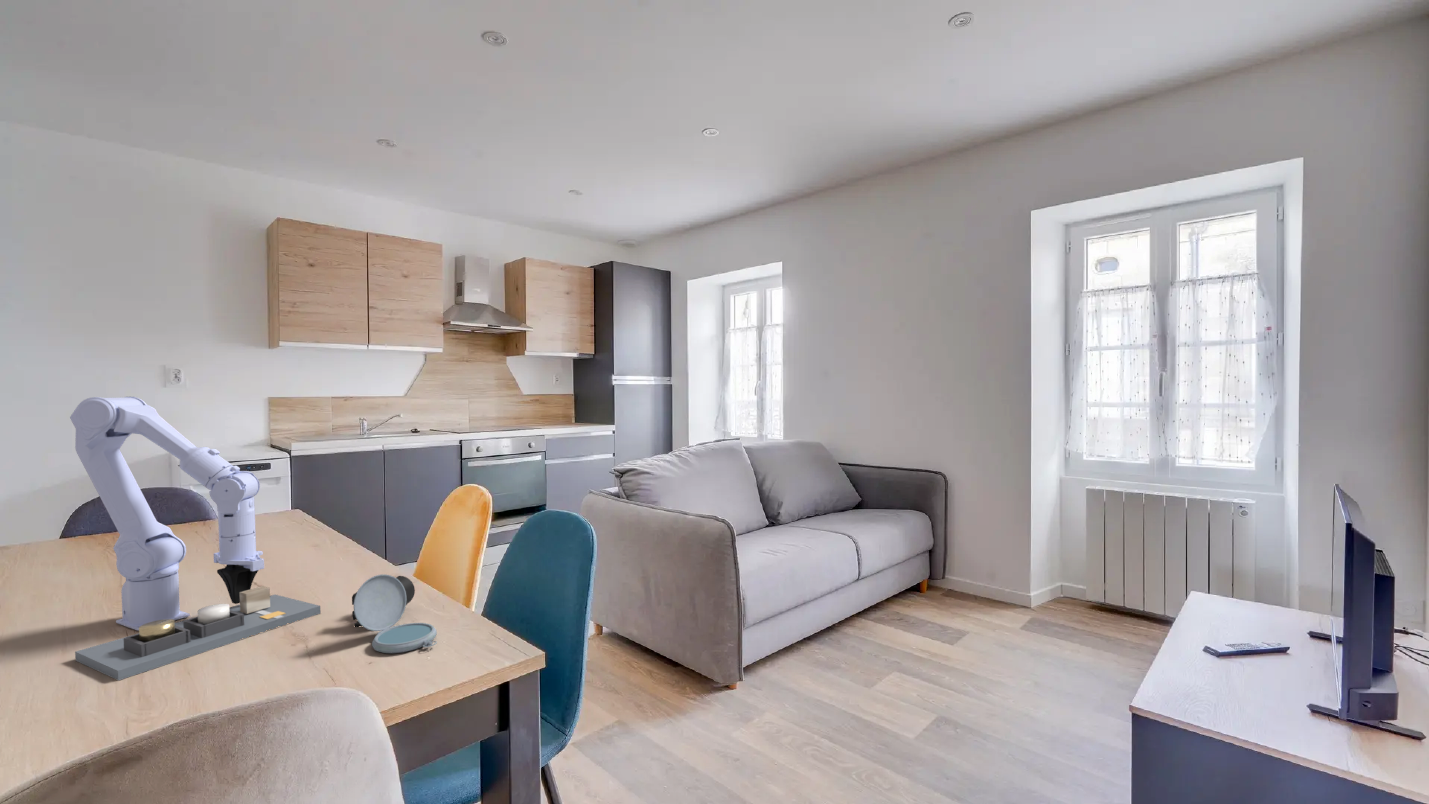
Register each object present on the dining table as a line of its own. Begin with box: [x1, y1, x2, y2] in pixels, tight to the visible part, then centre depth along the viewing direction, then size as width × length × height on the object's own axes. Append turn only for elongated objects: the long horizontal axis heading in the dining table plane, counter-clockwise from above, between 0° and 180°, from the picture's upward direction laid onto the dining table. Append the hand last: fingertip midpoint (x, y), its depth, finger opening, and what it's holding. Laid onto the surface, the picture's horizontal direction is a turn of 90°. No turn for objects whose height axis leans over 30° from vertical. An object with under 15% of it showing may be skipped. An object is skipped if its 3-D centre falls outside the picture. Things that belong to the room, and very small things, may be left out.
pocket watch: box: [353, 573, 438, 654], centre depth 105 cm, size 10×11×15 cm
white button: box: [197, 603, 230, 624], centre depth 108 cm, size 4×4×2 cm
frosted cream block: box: [239, 585, 271, 614], centre depth 117 cm, size 2×4×4 cm, turn 153°
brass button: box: [138, 619, 176, 641], centre depth 101 cm, size 4×4×2 cm
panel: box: [74, 594, 322, 681], centre depth 109 cm, size 16×30×4 cm, turn 153°
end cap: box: [351, 575, 416, 628], centre depth 116 cm, size 10×7×7 cm
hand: (239, 601), depth 119 cm, fingers closed
